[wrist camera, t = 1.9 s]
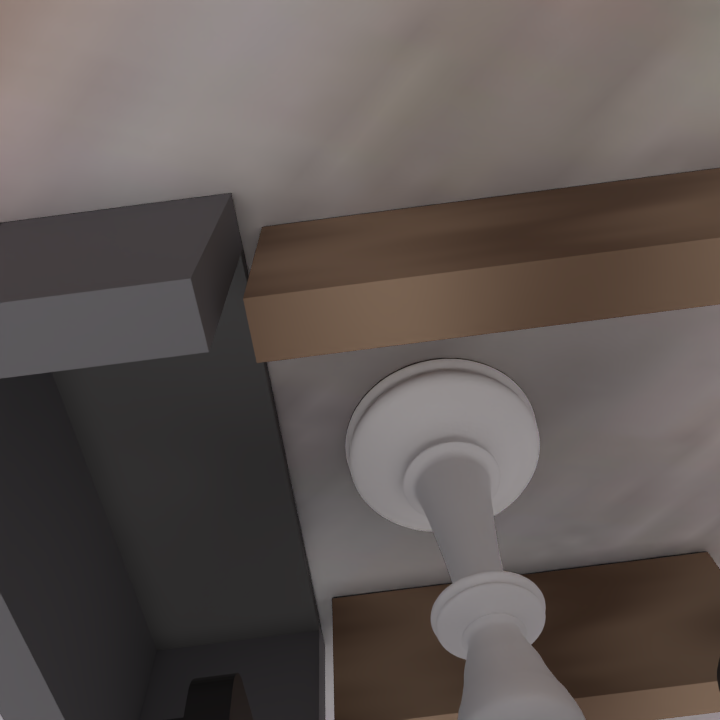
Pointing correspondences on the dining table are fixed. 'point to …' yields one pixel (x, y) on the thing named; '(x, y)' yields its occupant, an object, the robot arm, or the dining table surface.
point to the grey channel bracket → (143, 475)
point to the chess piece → (463, 520)
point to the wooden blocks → (492, 315)
